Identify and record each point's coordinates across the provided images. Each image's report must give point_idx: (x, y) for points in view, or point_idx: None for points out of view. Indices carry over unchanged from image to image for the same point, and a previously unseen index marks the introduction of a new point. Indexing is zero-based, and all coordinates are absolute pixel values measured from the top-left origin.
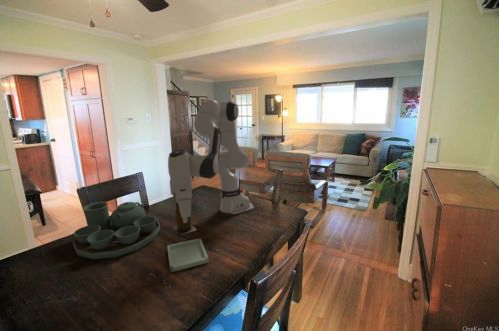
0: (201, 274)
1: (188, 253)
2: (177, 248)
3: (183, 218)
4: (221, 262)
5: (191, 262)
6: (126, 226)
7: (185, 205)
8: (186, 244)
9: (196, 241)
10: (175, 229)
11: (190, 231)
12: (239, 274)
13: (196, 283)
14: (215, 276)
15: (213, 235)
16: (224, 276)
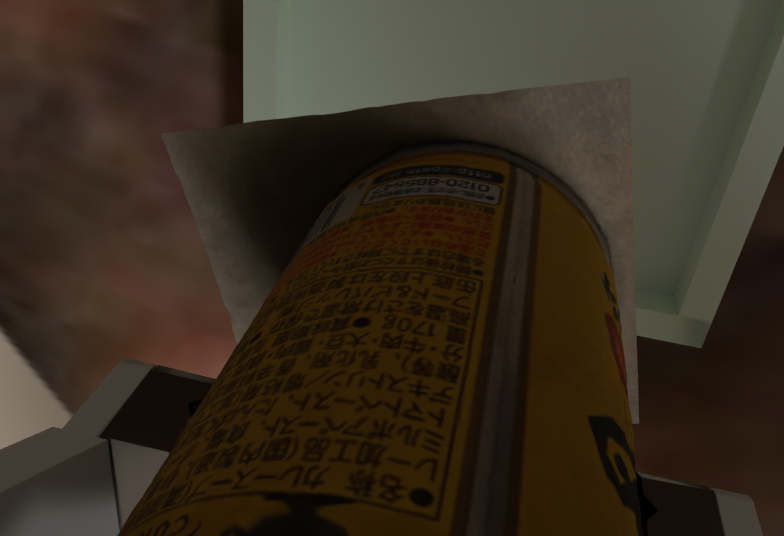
0: (114, 107)
1: None
2: (736, 14)
3: (3, 465)
4: (216, 318)
5: (251, 79)
6: None
7: None
8: (729, 154)
9: (684, 281)
10: (504, 101)
11: (247, 323)
12: (28, 350)
13: (6, 21)
14: (53, 200)
15: (719, 466)
16: (34, 257)
